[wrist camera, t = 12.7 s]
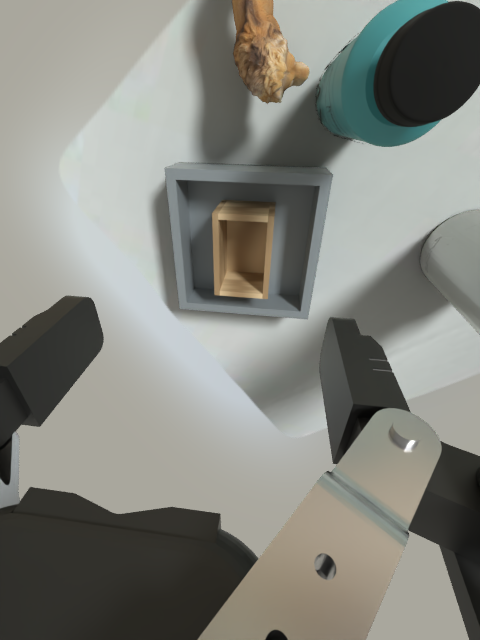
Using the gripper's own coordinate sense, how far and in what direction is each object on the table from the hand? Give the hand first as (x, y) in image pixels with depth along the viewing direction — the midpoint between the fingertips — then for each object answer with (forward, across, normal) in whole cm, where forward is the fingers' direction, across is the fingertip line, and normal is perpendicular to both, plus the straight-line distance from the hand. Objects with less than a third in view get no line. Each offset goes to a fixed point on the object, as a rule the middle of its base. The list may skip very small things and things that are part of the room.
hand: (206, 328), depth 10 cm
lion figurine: (+28, 0, -14) cm, 32 cm away
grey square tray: (+28, +1, +6) cm, 29 cm away
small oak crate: (+27, +1, +6) cm, 28 cm away
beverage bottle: (+28, -8, -8) cm, 30 cm away
